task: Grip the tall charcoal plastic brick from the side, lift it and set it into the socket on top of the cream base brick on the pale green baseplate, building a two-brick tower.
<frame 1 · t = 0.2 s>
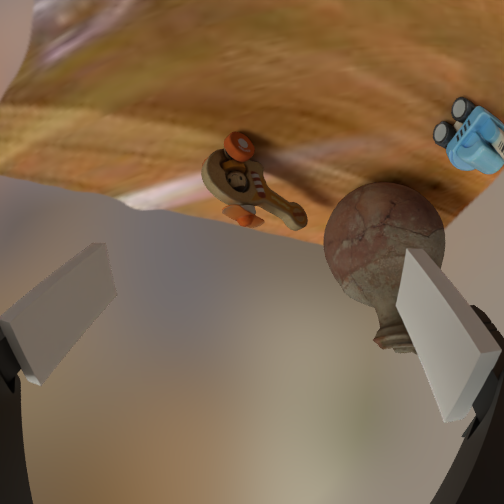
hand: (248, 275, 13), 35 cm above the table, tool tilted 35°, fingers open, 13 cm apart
jug: (375, 197, 56), on the table
toy helicopter: (257, 166, 53), on the table
toy excavator: (471, 110, 37), on the table
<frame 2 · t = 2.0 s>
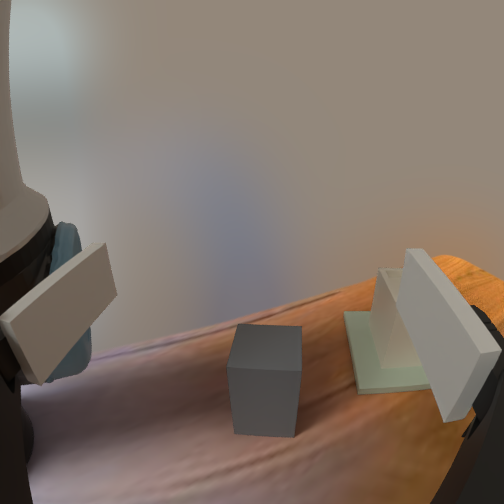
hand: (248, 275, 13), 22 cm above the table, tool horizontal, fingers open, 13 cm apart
cream base brick: (406, 343, 38), point 1 cm above the table, touching green baseplate
green baseplate: (404, 348, 38), on the table
charcoal brick: (266, 414, 30), on the table
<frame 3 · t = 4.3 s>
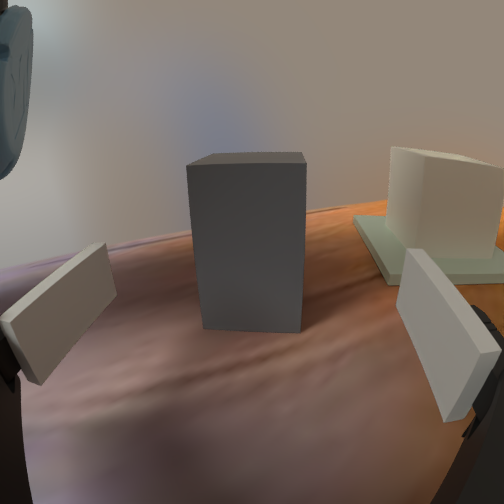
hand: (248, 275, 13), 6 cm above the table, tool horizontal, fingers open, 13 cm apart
cream base brick: (436, 239, 29), point 1 cm above the table, touching green baseplate
green baseplate: (435, 248, 30), on the table
charcoal brick: (256, 305, 22), on the table
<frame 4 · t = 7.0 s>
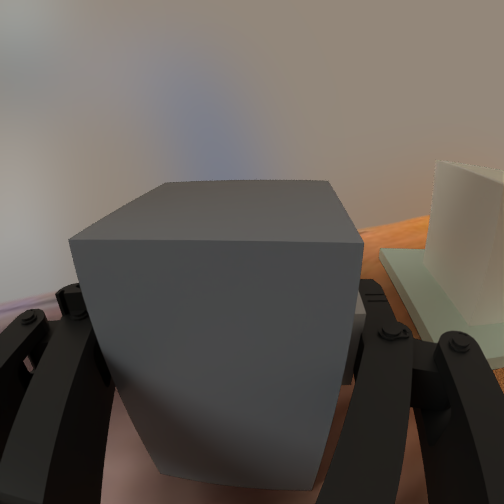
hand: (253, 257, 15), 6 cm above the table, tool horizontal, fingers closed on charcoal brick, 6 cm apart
cream base brick: (489, 288, 20), point 1 cm above the table, touching green baseplate
green baseplate: (485, 299, 20), on the table
charcoal brick: (243, 429, 12), on the table, touching gripper
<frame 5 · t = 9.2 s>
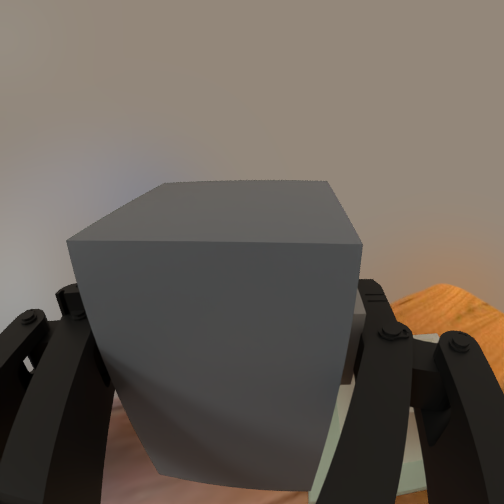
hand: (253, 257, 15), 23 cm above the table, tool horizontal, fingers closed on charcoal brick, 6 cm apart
cream base brick: (384, 428, 27), point 1 cm above the table, touching green baseplate
green baseplate: (381, 433, 27), on the table
charcoal brick: (243, 430, 12), point 17 cm above the table, touching gripper
when the fingers open (17 cm above the table, at t = 11.5 s): charcoal brick drops 2 cm, resting on cream base brick.
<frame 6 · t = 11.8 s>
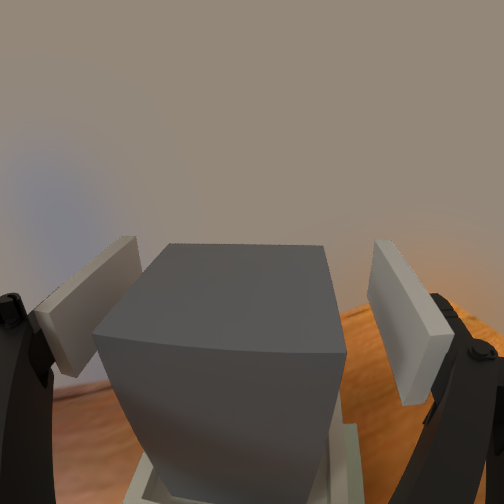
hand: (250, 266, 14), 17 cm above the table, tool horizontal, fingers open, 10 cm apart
charcoal brick: (244, 456, 13), point 9 cm above the table, touching cream base brick
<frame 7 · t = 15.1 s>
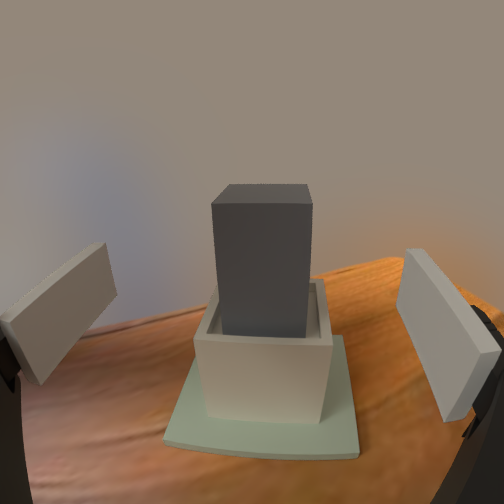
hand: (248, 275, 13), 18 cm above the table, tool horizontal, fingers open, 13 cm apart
cream base brick: (267, 383, 28), point 1 cm above the table, touching charcoal brick, green baseplate
green baseplate: (267, 390, 29), on the table
charcoal brick: (266, 316, 25), point 9 cm above the table, touching cream base brick
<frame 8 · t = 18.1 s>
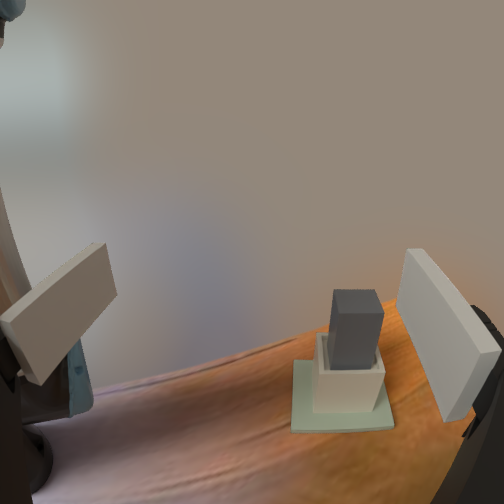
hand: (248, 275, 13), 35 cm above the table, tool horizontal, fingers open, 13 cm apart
cream base brick: (340, 391, 47), point 1 cm above the table, touching charcoal brick, green baseplate
green baseplate: (339, 395, 47), on the table
charcoal brick: (348, 357, 44), point 9 cm above the table, touching cream base brick
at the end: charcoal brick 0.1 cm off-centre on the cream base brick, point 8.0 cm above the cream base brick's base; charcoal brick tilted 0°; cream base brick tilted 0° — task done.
